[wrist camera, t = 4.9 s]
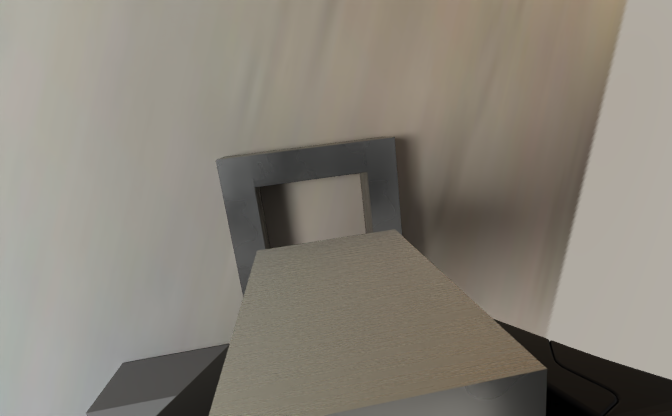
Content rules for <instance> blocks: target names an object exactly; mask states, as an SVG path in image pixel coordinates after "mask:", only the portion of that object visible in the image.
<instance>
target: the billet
mask: <svg viewBox="0 0 672 416" xmlns="http://www.w3.org/2000/svg"><path fill="white" fill-rule="evenodd" d="M546 391H547V368H546V367H545V366H544V365H543V364H541V363H540V362H539V361H538V360H537V359H536V358H535V357H534V356H533V355H532V354H531V353H529V352H528V351H527V350H526V349H525V348H524V347H523V346H522V345H521V344H520V343H519V342H517V341H516V340H515V339H514V338H513V337H512V336H511V335H510V334H509V333H508V332H506V331H505V330H504V329H503V328H502V327H501V326H500V325H499V324H498V323H497V322H496V321H494V320H493V319H492V318H491V317H490V316H489V315H488V314H487V313H486V312H485V311H484V310H482V309H481V308H480V307H479V306H478V305H477V304H476V303H475V302H474V301H473V300H472V299H470V298H469V297H468V296H467V295H466V294H465V293H464V292H463V291H462V290H461V289H460V288H458V287H457V286H456V285H455V284H454V283H453V282H452V281H451V280H450V279H449V278H448V277H446V276H445V275H444V274H443V273H442V272H441V271H440V270H439V269H438V268H437V267H436V266H434V265H433V264H432V263H431V262H430V261H429V260H428V259H427V258H426V257H425V256H423V255H422V254H421V253H420V252H419V251H418V250H417V249H416V248H415V247H414V246H413V245H411V244H410V243H409V242H408V241H407V240H406V239H405V238H404V237H403V236H402V235H401V234H399V233H398V232H397V231H396V230H395V229H393V230H387V231H380V232H374V233H368V234H361V235H355V236H348V237H342V238H335V239H329V240H322V241H316V242H310V243H303V244H297V245H290V246H284V247H277V248H271V249H265V250H258V251H257V252H256V256H255V259H254V263H253V266H252V269H251V273H250V276H249V280H248V283H247V287H246V290H245V293H244V297H243V300H242V304H241V307H240V310H239V314H238V317H237V321H236V324H235V327H234V331H233V334H232V338H231V341H230V345H229V348H228V351H227V355H226V358H225V362H224V365H223V368H222V372H221V375H220V379H219V382H218V385H217V389H216V392H215V396H214V399H213V403H212V406H211V409H210V413H209V416H546Z"/></svg>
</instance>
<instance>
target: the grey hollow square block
mask: <svg viewBox="0 0 672 416" xmlns="http://www.w3.org/2000/svg"><path fill="white" fill-rule="evenodd" d="M228 345H229V344H226V345H221V346H215V347H210V348H204V349H199V350H193V351H188V352H182V353H177V354H171V355H165V356H160V357H154V358H149V359H143V360H138V361H132V362H127V363H122V365H121V366H120V368H119V369H118V370H117V372H116V373H115V374H114V376H113V377H112V378H111V380H110V381H109V383H108V384H107V385H106V387H105V388H104V389H103V391H102V392H101V393H100V395H99V396H98V398H97V399H96V400H95V402H94V403H93V404H92V406H91V407H90V408H89V410H88V411H87V413H86V414H87V416H156V415H157V414H158V413H159V412H160V411H161V410H162V409H163V408H164V407H165V406H166V405H167V404H168V403H170V402H171V401H172V400H173V399H174V398H175V397H176V396H177V395H178V394H179V393H180V392H181V391H182V390H183V389H184V388H185V387H186V386H187V385H188V384H189V383H190V382H191V381H192V380H193V379H194V378H195V377H196V376H197V375H198V374H199V373H200V372H201V371H202V370H203V369H204V368H205V367H207V366H208V365H209V364H210V363H211V362H212V361H213V360H214V359H215V358H216V357H217V356H218V355H219V354H220V353H221V352H222V351H223V350H224V349H225V348H226V347H227V346H228Z"/></svg>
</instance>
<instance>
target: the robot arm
mask: <svg viewBox="0 0 672 416" xmlns="http://www.w3.org/2000/svg"><path fill="white" fill-rule="evenodd" d="M493 320H494V321H496V322H497V323H498V324H499V325H500V326H501V327H502V328H503V329H504V330H505V331H506V332H508V333H509V334H510V335H511V336H512V337H513V338H514V339H515V340H516V341H517V342H519V343H520V344H521V345H522V346H523V347H524V348H525V349H526V350H527V351H528V352H529V353H531V354H532V355H533V356H534V357H535V358H536V359H537V360H538V361H539V362H540V363H541V364H543V365H544V366H545V367H546V368H547V391H546V416H672V380H670V379H667V378H663V377H660V376H656V375H654V374H650V373H647V372H644V371H641V370H638V369H634V368H631V367H628V366H625V365H622V364H619V363H615V362H612V361H609V360H606V359H603V358H600V357H597V356H594V355H591V354H588V353H585V352H582V351H579V350H577V349H574V348H571V347H568V346H565V345H563V344H560V343H557V342H555V341H550V342H549V340H548V339H546V338H544V337H541V336H538V335H536V334H533V333H530V332H527V331H525V330H522V329H519V328H517V327H514V326H511V325H508V324H506V323H503V322H500V321H498V320H495V319H493ZM229 345H230V344H229ZM229 345H228V346H227V347H226V348H225V349H224V350H223V351H222V352H221V353H220V354H219V355H218V356H217V357H216V358H215V359H214V360H213V361H212V362H211V363H210V364H209V365H208V366H207V367H205V368H204V369H203V370H202V371H201V372H200V373H199V374H198V375H197V376H196V377H195V378H194V379H193V380H192V381H191V382H190V383H189V384H188V385H187V386H186V387H185V388H184V389H183V390H182V391H181V392H180V393H179V394H178V395H177V396H176V397H175V398H174V399H173V400H172V401H171V402H170V403H168V404H167V405H166V406H165V407H164V408H163V409H162V410H161V411H160V412H159V413H158V414H157V415H156V416H209V413H210V409H211V406H212V403H213V399H214V396H215V392H216V389H217V385H218V382H219V379H220V375H221V372H222V368H223V365H224V362H225V358H226V355H227V351H228V348H229Z"/></svg>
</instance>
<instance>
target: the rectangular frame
mask: <svg viewBox="0 0 672 416" xmlns="http://www.w3.org/2000/svg"><path fill="white" fill-rule="evenodd" d="M216 164H217V169H218V174H219V179H220V184H221V189H222V194H223V199H224V204H225V209H226V214H227V219H228V223H229V228H230V233H231V238H232V243H233V248H234V253H235V258H236V263H237V268H238V273H239V278H240V283H241V288H242V293H243V297H244V293H245V290H246V287H247V283H248V280H249V276H250V273H251V269H252V266H253V263H254V259H255V256H256V252H257V251H258V250H265V249H270V245H269V240H268V234H267V228H266V222H265V217H264V211H263V205H262V199H261V194H260V188H259V187H261V186H268V185H275V184H283V183H290V182H297V181H305V180H312V179H319V178H327V177H334V176H341V175H349V174H356V173H360V179H361V189H362V199H363V209H364V218H365V228H366V234H368V233H374V232H380V231H387V230H393V229H395V230H396V231H397V232H398V233H399V234H401V235H402V229H401V216H400V203H399V189H398V176H397V163H396V150H395V137H377V138H370V139H362V140H354V141H346V142H338V143H330V144H322V145H314V146H306V147H298V148H290V149H283V150H275V151H267V152H259V153H251V154H243V155H235V156H227V157H222V158H220V159H217V160H216Z"/></svg>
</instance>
